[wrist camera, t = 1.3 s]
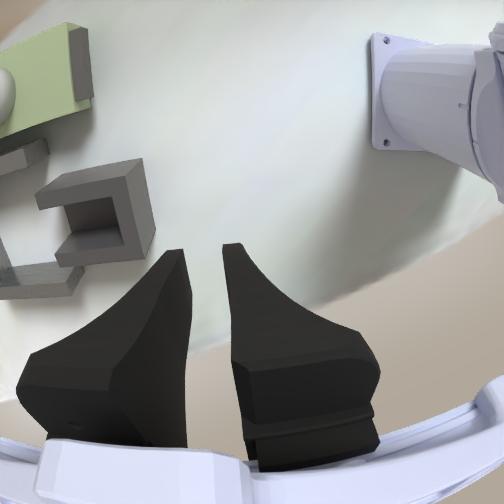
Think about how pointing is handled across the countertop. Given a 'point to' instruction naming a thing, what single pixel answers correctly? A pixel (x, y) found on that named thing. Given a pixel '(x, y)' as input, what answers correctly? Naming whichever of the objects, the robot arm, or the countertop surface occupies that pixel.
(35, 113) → the pale green flat plate
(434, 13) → the countertop surface
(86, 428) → the robot arm
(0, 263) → the chute mount
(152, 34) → the countertop surface
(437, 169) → the countertop surface
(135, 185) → the chute
